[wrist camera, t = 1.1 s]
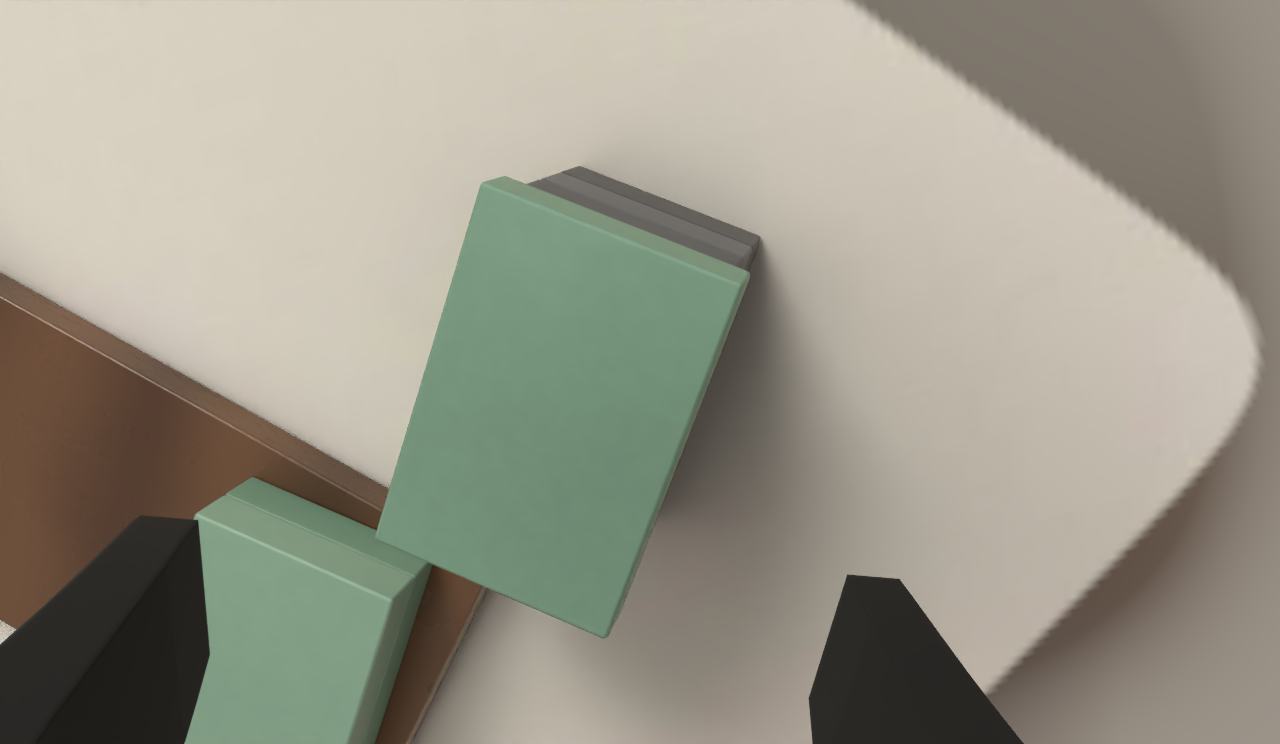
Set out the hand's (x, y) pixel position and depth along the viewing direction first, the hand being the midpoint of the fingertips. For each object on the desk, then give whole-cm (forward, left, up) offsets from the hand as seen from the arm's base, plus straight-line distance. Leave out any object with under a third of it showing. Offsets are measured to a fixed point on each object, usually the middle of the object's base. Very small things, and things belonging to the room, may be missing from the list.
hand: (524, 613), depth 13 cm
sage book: (+1, +2, -9) cm, 9 cm away
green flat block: (-3, +12, -12) cm, 17 cm away
